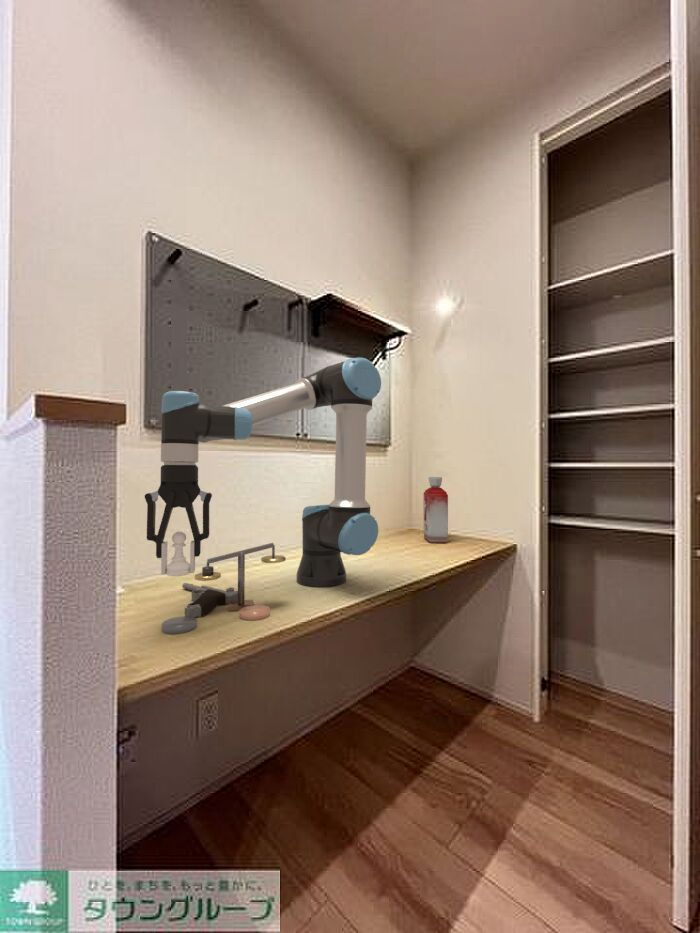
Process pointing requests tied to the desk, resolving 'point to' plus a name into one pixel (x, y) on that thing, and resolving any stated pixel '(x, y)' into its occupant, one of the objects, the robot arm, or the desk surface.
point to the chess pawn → (178, 557)
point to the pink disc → (254, 612)
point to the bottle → (435, 512)
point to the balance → (211, 575)
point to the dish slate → (179, 625)
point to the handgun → (207, 599)
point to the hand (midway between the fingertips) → (178, 572)
